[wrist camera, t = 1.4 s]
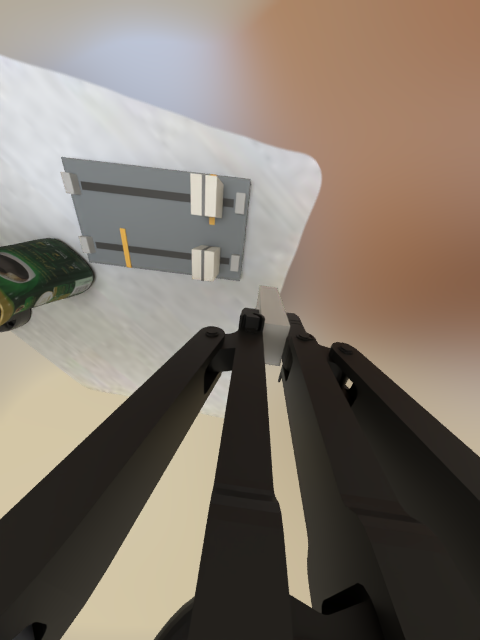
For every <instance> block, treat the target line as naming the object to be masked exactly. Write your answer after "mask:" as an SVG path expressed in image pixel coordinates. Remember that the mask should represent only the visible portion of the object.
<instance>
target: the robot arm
mask: <svg viewBox="0 0 480 640" xmlns="http://www.w3.org/2000/svg"><path fill="white" fill-rule="evenodd" d="M30 314H31V311H30V309H28V310H25V311H22V312H20V313H17V314H15V315H13V316H12V317H11V318H10V319H9V320H8V321H7V322H5V323H4V324H3V325H1V326H0V332H4V331H9V330H13V329H15V328H17V327H20V326H22V325H24V324H26V323H27V322H28V320H29V318H30ZM281 359H282V362H283V365H282V368H281V372H280V375H279V379H278V382H280V380H281V378H282V382H283V387H284V394H285V400H286V406H287V413H288V419H289V425H290V431H291V437H292V443H293V448H294V455H295V461H296V467H297V474H298V480H299V486H300V492H301V498H302V504H303V510H304V516H305V522H306V528H307V535H308V558H307V570H308V581H309V589H310V596H311V603H312V608H311V607H309V606H308V605H306V604H304V603H303V602H301V601H299V600H298V599H296V598H294V597H293V596H291V595H289V587H288V576H287V565H286V555H285V543H284V532H283V523H282V515H281V511H280V506H279V503H278V501H277V499H276V497H275V494H274V488H273V476H272V460H271V446H270V431H269V416H268V402H267V387H266V373H265V364H269V365H276V366H280V363H281ZM231 370H232V374H231V380H230V386H229V393H228V399H227V405H226V411H225V418H224V424H223V430H222V437H221V443H220V449H219V456H218V462H217V468H216V474H215V481H214V486H213V491H212V495H211V501H210V507H209V512H208V519H207V524H206V530H205V537H204V543H203V549H202V555H201V561H200V568H199V574H198V580H197V586H196V592H195V596H194V597H193V598H192V599H191V600H189V601H188V602H187V603H185V604H184V605H183V606H182V607H181V608H180V609H179V610H178V611H177V612H176V613H175V614H174V615H173V616H172V617H171V618H170V620H169V621H168V622H167V623H166V624H165V626H164V627H163V628H162V630H161V631H160V632H159V633H158V635H157V636H156V637H155V639H154V640H480V457H479V456H478V455H477V454H475V453H474V452H473V451H472V450H471V449H470V448H469V447H468V446H466V445H465V444H464V443H463V442H462V441H461V440H460V439H458V438H457V437H456V436H455V435H454V434H453V433H452V432H450V431H449V430H448V429H447V428H446V427H445V426H443V425H442V424H441V423H440V422H439V421H438V420H437V419H436V418H434V417H433V416H432V415H431V414H430V413H429V412H428V411H426V410H425V409H424V408H423V407H422V406H421V405H419V404H418V403H417V402H416V401H415V400H414V399H413V398H411V397H410V396H409V395H408V394H407V393H406V392H405V391H404V390H402V389H401V388H400V387H399V386H398V385H397V384H396V383H394V382H393V381H392V380H391V379H390V378H389V377H388V376H387V375H385V374H384V373H383V372H382V371H381V370H380V369H378V368H377V367H376V366H375V365H374V364H373V363H372V362H371V361H369V360H368V359H367V358H366V357H365V356H364V355H363V354H361V353H360V352H359V351H358V350H357V349H355V348H354V347H352V346H350V345H349V344H345V343H340V342H336V343H333V344H332V346H331V348H328V347H325V346H321V345H319V344H318V343H317V341H316V339H315V338H314V337H313V336H312V335H311V334H309V333H307V332H306V331H305V329H304V327H303V325H302V323H301V320H300V318H299V317H298V316H297V315H295V314H294V313H286V312H285V309H284V306H283V303H282V300H281V297H280V294H279V291H278V288H275V287H267V286H260V287H259V293H258V299H257V306H256V309H251V308H244V309H243V310H242V313H241V315H240V321H239V329H238V331H236V332H235V333H231V334H225V333H224V331H223V330H222V329H221V328H218V327H214V326H209V327H205V328H203V329H201V330H200V331H199V332H198V333H197V334H195V335H194V336H193V337H192V338H191V339H190V340H189V341H188V342H187V343H186V344H185V345H184V346H183V347H182V348H181V349H180V350H179V351H178V352H176V353H175V354H174V355H173V356H172V357H171V358H170V359H169V360H168V361H167V362H166V363H165V364H164V365H163V366H162V367H161V368H160V369H159V370H157V371H156V372H155V373H154V374H153V375H152V376H151V377H150V378H149V379H148V380H147V381H146V382H145V383H144V384H143V385H142V386H141V387H140V388H138V389H137V390H136V391H135V392H134V393H133V394H132V395H131V396H130V397H129V398H128V399H127V400H126V401H125V402H124V403H123V404H122V405H121V406H120V407H118V408H117V409H116V410H115V411H114V412H113V413H112V414H111V415H110V416H109V417H108V418H107V419H106V420H105V421H104V422H103V423H102V424H101V425H99V427H97V428H96V429H95V430H94V431H93V432H92V433H91V434H90V435H89V436H88V437H87V438H86V439H85V440H84V441H83V442H82V443H80V445H78V446H77V447H76V448H75V449H74V450H73V451H72V452H71V453H70V454H69V455H68V456H67V457H66V458H65V459H64V460H62V461H61V462H60V463H59V464H58V465H57V466H56V467H55V468H54V469H53V470H52V471H51V472H50V473H49V474H48V475H47V476H46V477H45V478H43V479H42V480H41V481H40V482H39V483H38V484H37V485H36V486H35V487H34V488H33V489H32V490H31V491H30V492H29V493H28V494H27V495H26V496H25V497H23V498H22V499H21V500H20V501H19V502H18V503H17V504H16V505H15V506H14V507H13V508H12V509H11V510H10V511H9V512H8V513H7V514H5V515H4V516H3V517H2V518H1V519H0V640H60V639H61V638H62V636H63V635H64V633H65V632H66V631H67V629H68V628H69V626H70V625H71V623H72V622H73V621H74V619H75V618H76V616H77V615H78V614H79V612H80V611H81V609H82V608H83V607H84V605H85V604H86V602H87V601H88V599H89V597H90V596H91V594H92V593H93V591H94V589H95V588H96V586H97V585H98V583H99V581H100V580H101V578H102V577H103V575H104V573H105V572H106V570H107V568H108V567H109V565H110V564H111V562H112V560H113V558H114V557H115V555H116V553H117V552H118V550H119V548H120V547H121V545H122V543H123V541H124V540H125V538H126V536H127V534H128V533H129V531H130V529H131V528H132V526H133V524H134V522H135V521H136V519H137V518H138V516H139V514H140V512H141V511H142V509H143V507H144V505H145V504H146V502H147V500H148V499H149V497H150V495H151V494H152V492H153V490H154V488H155V487H156V485H157V483H158V482H159V480H160V478H161V476H162V475H163V473H164V471H165V470H166V468H167V466H168V465H169V463H170V461H171V459H172V458H173V456H174V454H175V453H176V451H177V449H178V447H179V446H180V444H181V442H182V441H183V439H184V437H185V436H186V434H187V432H188V430H189V429H190V427H191V425H192V424H193V422H194V420H195V418H196V417H197V415H198V413H199V412H200V410H201V408H202V407H203V405H204V403H205V401H206V400H207V398H208V396H209V395H210V393H211V391H212V390H213V388H214V386H215V384H216V383H217V381H218V379H219V378H220V376H221V373H222V372H223V371H231ZM348 379H350V380H351V381H352V382H353V384H352V386H351V388H350V389H349V388H348V387H347V386H346V385H345V384H346V382H347V380H348Z"/></svg>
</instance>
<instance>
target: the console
mask: <svg viewBox="0 0 480 640" xmlns="http://www.w3.org/2000/svg"><path fill="white" fill-rule="evenodd" d="M61 159H62V163H63V166H64V170H65V172H61V176H62V180H63V183H64V187H65V190H66V193H69V194H71V196H72V199H73V203H74V207H75V210H76V214H77V218H78V221H79V225H80V229H81V233H82V236H78V237H79V240H80V244H81V247H82V251H83V253H87V255H88V258H89V262H91V263H100V264H108V265H116V266H124V267H129V268H140V269H148V270H156V271H164V272H172V273H180V274H188V275H192V249H193V248H196V247H198V246H201V245H204V246H212V247H220V266H219V274H218V275H217V277H216V278H220V279H228V280H236V281H240V277H241V268H242V259H243V250H244V240H245V231H246V222H247V212H248V203H249V194H250V185H251V179H245V178H237V177H228V176H220V175H213V174H206V175H211V176H217V177H218V178H219V179H220V181H221V182H222V183H223V184H224V189H223V208H222V218H216V217H213V218H212V217H204V216H199V215H192V214H191V183H190V173H193V174H202V173H194V172H185V171H177V170H168V169H160V168H151V167H142V166H134V165H125V164H117V163H108V162H100V161H91V160H82V159H74V158H65V157H61Z"/></svg>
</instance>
